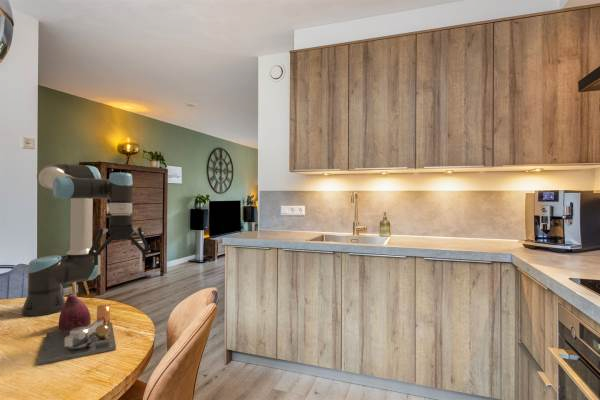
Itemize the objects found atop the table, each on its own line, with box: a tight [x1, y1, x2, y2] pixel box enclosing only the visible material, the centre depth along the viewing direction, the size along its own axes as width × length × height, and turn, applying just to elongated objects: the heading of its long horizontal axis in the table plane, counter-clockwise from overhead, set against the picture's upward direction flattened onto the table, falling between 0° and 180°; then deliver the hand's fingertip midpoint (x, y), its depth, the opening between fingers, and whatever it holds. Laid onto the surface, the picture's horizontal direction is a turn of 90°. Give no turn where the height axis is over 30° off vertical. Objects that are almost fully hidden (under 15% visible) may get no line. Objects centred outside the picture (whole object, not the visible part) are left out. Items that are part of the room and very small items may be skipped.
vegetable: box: [57, 292, 92, 331], centre depth 129 cm, size 10×10×15 cm
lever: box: [65, 304, 111, 346], centre depth 115 cm, size 22×5×7 cm, turn 2°
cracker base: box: [37, 322, 117, 366], centre depth 115 cm, size 25×20×7 cm
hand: (120, 272), depth 125 cm, fingers open, 13 cm apart
